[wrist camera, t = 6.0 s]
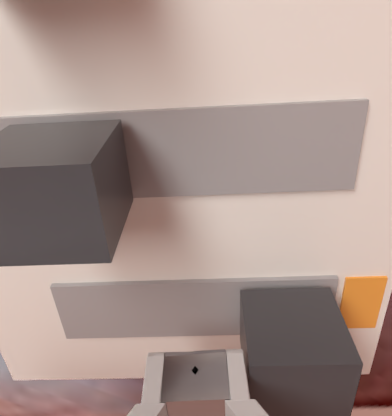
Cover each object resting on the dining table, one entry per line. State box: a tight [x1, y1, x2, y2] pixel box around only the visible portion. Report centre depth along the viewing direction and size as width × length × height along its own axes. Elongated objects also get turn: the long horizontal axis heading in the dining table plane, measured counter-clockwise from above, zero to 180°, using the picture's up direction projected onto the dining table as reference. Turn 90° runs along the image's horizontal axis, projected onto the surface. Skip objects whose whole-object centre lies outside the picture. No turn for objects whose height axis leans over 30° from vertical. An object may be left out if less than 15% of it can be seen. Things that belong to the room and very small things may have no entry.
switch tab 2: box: [240, 287, 363, 416], centre depth 12 cm, size 3×2×3 cm
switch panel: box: [0, 0, 392, 380], centre depth 12 cm, size 15×20×4 cm
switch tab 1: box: [0, 119, 133, 267], centre depth 9 cm, size 3×2×3 cm
